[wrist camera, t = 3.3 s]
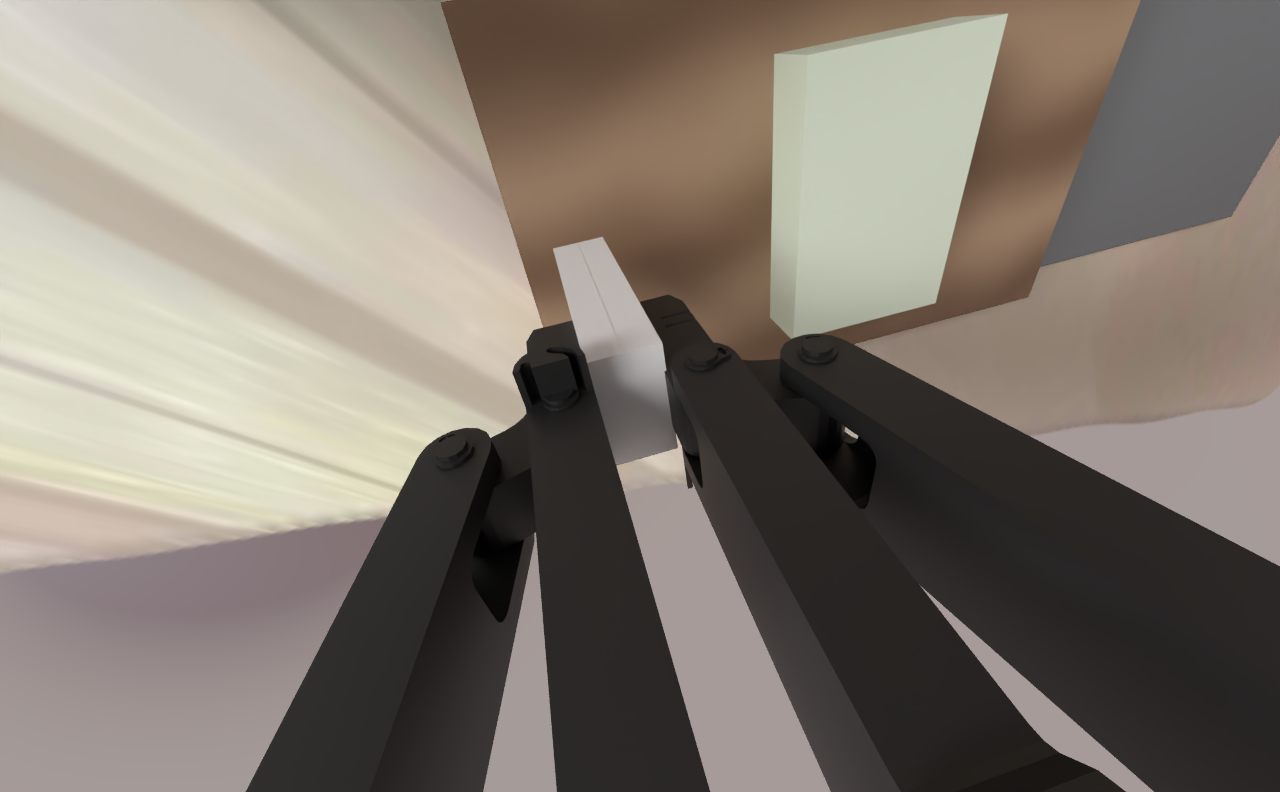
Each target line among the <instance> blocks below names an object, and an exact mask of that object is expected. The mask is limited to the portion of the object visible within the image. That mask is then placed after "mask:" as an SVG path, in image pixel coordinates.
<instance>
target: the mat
mask: <svg viewBox="0 0 1280 792" xmlns="http://www.w3.org/2000/svg"><path fill="white" fill-rule="evenodd" d="M1279 135H1280V0H1141V1H1140V4H1139V6H1138V9H1137V11H1136V14H1135V17H1134V19H1133V22H1132V25H1131V27H1130V30H1129V33H1128V35H1127V38H1126V40H1125V43H1124V46H1123V48H1122V51H1121V54H1120V56H1119V59H1118V62H1117V64H1116V67H1115V69H1114V72H1113V75H1112V77H1111V80H1110V83H1109V85H1108V88H1107V91H1106V93H1105V96H1104V98H1103V101H1102V104H1101V106H1100V109H1099V112H1098V114H1097V117H1096V120H1095V122H1094V125H1093V127H1092V130H1091V133H1090V135H1089V138H1088V141H1087V143H1086V146H1085V149H1084V151H1083V154H1082V156H1081V159H1080V162H1079V164H1078V167H1077V170H1076V172H1075V175H1074V178H1073V180H1072V183H1071V186H1070V188H1069V191H1068V193H1067V196H1066V199H1065V201H1064V204H1063V207H1062V209H1061V212H1060V215H1059V217H1058V220H1057V222H1056V225H1055V228H1054V230H1053V233H1052V236H1051V238H1050V241H1049V244H1048V246H1047V249H1046V251H1045V254H1044V257H1043V259H1042V262H1041V265H1040V266H1044V265H1048V264H1052V263H1056V262H1059V261H1063V260H1067V259H1071V258H1075V257H1078V256H1082V255H1086V254H1090V253H1094V252H1097V251H1101V250H1105V249H1109V248H1113V247H1116V246H1120V245H1124V244H1128V243H1132V242H1135V241H1139V240H1143V239H1147V238H1151V237H1155V236H1158V235H1162V234H1166V233H1170V232H1174V231H1177V230H1181V229H1185V228H1189V227H1193V226H1196V225H1200V224H1204V223H1208V222H1212V221H1215V220H1219V219H1223V218H1227V217H1231V216H1232V214H1233V212H1234V211H1235V209H1236V207H1237V206H1238V204H1239V202H1240V201H1241V199H1242V197H1243V196H1244V194H1245V192H1246V191H1247V189H1248V187H1249V186H1250V184H1251V182H1252V181H1253V179H1254V177H1255V176H1256V174H1257V172H1258V171H1259V169H1260V167H1261V166H1262V164H1263V162H1264V161H1265V159H1266V157H1267V156H1268V154H1269V152H1270V150H1271V149H1272V147H1273V145H1274V144H1275V142H1276V140H1277V139H1278V137H1279Z"/></svg>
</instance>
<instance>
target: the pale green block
mask: <svg viewBox="0 0 1280 792" xmlns="http://www.w3.org/2000/svg"><path fill="white" fill-rule="evenodd" d="M1007 17H1008V14H992V15H977V16H961V17H952V18H947V19H942V20H937V21H933V22H928V23H923V24H918V25H913V26H908V27H903V28H899V29H894V30H889V31H884V32H879V33H874V34H869V35H865V36H860V37H855V38H850V39H845V40H840V41H835V42H831V43H826V44H821V45H816V46H811V47H806V48H801V49H797V50H792V51H787V52H782V53H777V54H774V102H773V163H772V223H771V284H770V318H771V319H772V320H773V321H774V322H775V323H776V324H777V325H778V326H779V327H780V328H781V329H782V330H783V331H784V332H785V333H786V334H787V335H788V336H789V337H790V338H791V339H792V338H795V337H798V336H802V335H806V334H820V333H824V332H828V331H832V330H836V329H839V328H843V327H847V326H851V325H854V324H858V323H862V322H866V321H870V320H873V319H877V318H881V317H885V316H889V315H892V314H896V313H900V312H904V311H907V310H911V309H915V308H919V307H923V306H926V305H930V304H934V303H936V299H937V295H938V291H939V287H940V283H941V279H942V275H943V272H944V268H945V264H946V260H947V256H948V252H949V248H950V244H951V240H952V236H953V232H954V228H955V224H956V220H957V216H958V212H959V208H960V204H961V200H962V196H963V192H964V188H965V184H966V180H967V176H968V172H969V168H970V164H971V160H972V156H973V152H974V148H975V144H976V140H977V136H978V132H979V128H980V124H981V120H982V116H983V112H984V108H985V104H986V100H987V96H988V92H989V88H990V84H991V80H992V76H993V72H994V68H995V64H996V60H997V56H998V52H999V48H1000V44H1001V40H1002V36H1003V32H1004V28H1005V24H1006V21H1007Z"/></svg>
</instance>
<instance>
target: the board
mask: <svg viewBox="0 0 1280 792" xmlns="http://www.w3.org/2000/svg"><path fill="white" fill-rule="evenodd" d="M1140 1H1141V0H452V1H447V2H441V5H442V8H443V12H444V15H445V18H446V21H447V24H448V27H449V31H450V34H451V37H452V40H453V43H454V46H455V50H456V53H457V56H458V59H459V62H460V65H461V69H462V72H463V75H464V78H465V81H466V84H467V88H468V91H469V94H470V97H471V100H472V103H473V107H474V110H475V113H476V116H477V119H478V122H479V125H480V129H481V132H482V135H483V138H484V141H485V144H486V148H487V151H488V154H489V157H490V160H491V163H492V167H493V170H494V173H495V176H496V179H497V182H498V186H499V189H500V192H501V195H502V198H503V201H504V205H505V208H506V211H507V214H508V217H509V220H510V224H511V227H512V230H513V233H514V236H515V239H516V243H517V246H518V249H519V252H520V255H521V258H522V261H523V265H524V268H525V271H526V274H527V277H528V280H529V284H530V287H531V290H532V293H533V296H534V299H535V303H536V306H537V309H538V312H539V315H540V318H541V322H542V325H543V328H544V327H548V326H552V325H556V324H560V323H564V322H568V321H572V317H571V314H570V310H569V306H568V302H567V299H566V295H565V291H564V288H563V284H562V280H561V277H560V273H559V269H558V266H557V262H556V258H555V254H554V251H553V248H557V247H562V246H566V245H570V244H574V243H579V242H583V241H587V240H591V239H595V238H600V237H603V239H604V240H605V242H606V244H607V246H608V247H609V249H610V251H611V253H612V254H613V256H614V258H615V260H616V262H617V263H618V265H619V267H620V269H621V270H622V272H623V274H624V276H625V278H626V279H627V281H628V283H629V285H630V286H631V288H632V290H633V292H634V294H635V295H636V297H637V299H638V301H639V302H641V301H645V300H649V299H653V298H657V297H661V296H665V295H668V294H669V295H671V296H673V297H675V298H677V299H680V300H682V301H683V302H684V303H685V305H686V306H687V308H688V309H689V310H690V312H691V313H692V314H693V316H694V317H695V319H696V320H697V321H698V322H699V324H700V325H701V326H702V328H703V329H704V330H705V332H706V333H707V335H708V336H709V337H710V339H711V340H712V341H713V343H720V344H723V345H726V346H729V347H730V348H732V349H733V350H734V351H735V352H736V353H737V354H738V355H739V356H740V358H741V359H742V360H772V359H780V350H781V349H782V347H783V345H784V344H785V343H786V342H788V341H789V340H791V338H790V337H789V336H788V335H787V334H786V333H785V332H784V331H783V330H782V329H781V328H780V327H779V326H778V325H777V324H776V323H775V322H774V321H773V320H772V319H771V318H770V284H771V223H772V163H773V102H774V54H777V53H782V52H787V51H792V50H797V49H801V48H806V47H811V46H816V45H821V44H826V43H831V42H835V41H840V40H845V39H850V38H855V37H860V36H865V35H869V34H874V33H879V32H884V31H889V30H894V29H899V28H903V27H908V26H913V25H918V24H923V23H928V22H933V21H937V20H942V19H947V18H952V17H961V16H977V15H992V14H1008V17H1007V21H1006V24H1005V28H1004V32H1003V36H1002V40H1001V44H1000V48H999V52H998V56H997V60H996V64H995V68H994V72H993V76H992V80H991V84H990V88H989V92H988V96H987V100H986V104H985V108H984V112H983V116H982V120H981V124H980V128H979V132H978V136H977V140H976V144H975V148H974V152H973V156H972V160H971V164H970V168H969V172H968V176H967V180H966V184H965V188H964V192H963V196H962V200H961V204H960V208H959V212H958V216H957V220H956V224H955V228H954V232H953V236H952V240H951V244H950V248H949V252H948V256H947V260H946V264H945V268H944V272H943V275H942V279H941V283H940V287H939V291H938V295H937V299H936V303H934V304H930V305H926V306H923V307H919V308H915V309H911V310H907V311H904V312H900V313H896V314H892V315H889V316H885V317H881V318H877V319H873V320H870V321H866V322H862V323H858V324H854V325H851V326H847V327H843V328H839V329H836V330H832V331H828V332H824V333H820V334H825V335H832V336H835V337H838V338H841V339H843V340H845V341H847V342H849V343H851V344H855V343H859V342H863V341H866V340H870V339H874V338H878V337H881V336H885V335H889V334H893V333H896V332H900V331H904V330H907V329H911V328H915V327H919V326H922V325H926V324H930V323H934V322H937V321H941V320H945V319H948V318H952V317H956V316H960V315H963V314H967V313H971V312H974V311H978V310H982V309H986V308H989V307H993V306H997V305H1001V304H1004V303H1008V302H1012V301H1015V300H1019V299H1023V298H1027V297H1028V296H1029V294H1030V291H1031V288H1032V286H1033V283H1034V280H1035V278H1036V275H1037V273H1038V270H1039V267H1040V265H1041V262H1042V259H1043V257H1044V254H1045V251H1046V249H1047V246H1048V244H1049V241H1050V238H1051V236H1052V233H1053V230H1054V228H1055V225H1056V222H1057V220H1058V217H1059V215H1060V212H1061V209H1062V207H1063V204H1064V201H1065V199H1066V196H1067V193H1068V191H1069V188H1070V186H1071V183H1072V180H1073V178H1074V175H1075V172H1076V170H1077V167H1078V164H1079V162H1080V159H1081V156H1082V154H1083V151H1084V149H1085V146H1086V143H1087V141H1088V138H1089V135H1090V133H1091V130H1092V127H1093V125H1094V122H1095V120H1096V117H1097V114H1098V112H1099V109H1100V106H1101V104H1102V101H1103V98H1104V96H1105V93H1106V91H1107V88H1108V85H1109V83H1110V80H1111V77H1112V75H1113V72H1114V69H1115V67H1116V64H1117V62H1118V59H1119V56H1120V54H1121V51H1122V48H1123V46H1124V43H1125V40H1126V38H1127V35H1128V33H1129V30H1130V27H1131V25H1132V22H1133V19H1134V17H1135V14H1136V11H1137V9H1138V6H1139V4H1140Z"/></svg>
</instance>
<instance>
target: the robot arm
mask: <svg viewBox="0 0 1280 792" xmlns="http://www.w3.org/2000/svg"><path fill="white" fill-rule="evenodd" d="M553 251H554V254H555V258H556V262H557V266H558V269H559V273H560V277H561V280H562V284H563V288H564V291H565V295H566V299H567V302H568V306H569V310H570V314H571V317H572V321H568V322H564V323H560V324H556V325H552V326H548V327H544V328H540V329H536V330H533V332H532V334H531V335H530V337H529V339H528V340H527V342H526V343H527V354H526V355H524V356H523V357H521V359H520V360H519V361H518V362H517V363H516V364H515V366H514V369H513V372H512V373H513V376H514V378H515V381H516V383H517V386H518V389H519V391H520V394H521V396H522V399H523V402H524V404H525V407H526V413H527V414H526V415H525V416H524V417H523V419H521V420H520V421H519V422H518V423H517V424H515V425H514V426H512V427H511V428H509V429H507V430H506V431H504V432H502V433H500V434H498V435H496V436H494V437H492V438H490V437H489V435H488V434H487V432H485V431H483V430H480V429H478V428H463V429H459V430H455V431H451V432H449V433H447V434H445V435H442V436H441V437H439V438H437V439H436V440H434V441H433V442H432V443H430V444H429V445H428V446H427V447H425V449H424V450H423V451H422V453H421V454H420V455H419V457H418V458H417V460H416V462H415V464H414V466H413V468H412V470H411V472H410V474H409V476H408V478H407V480H406V482H405V484H404V486H403V487H402V489H401V491H400V493H399V495H398V497H397V499H396V501H395V503H394V505H393V507H392V509H391V511H390V513H389V515H388V517H387V519H386V521H385V522H384V524H383V526H382V528H381V530H380V532H379V534H378V536H377V538H376V540H375V542H374V544H373V546H372V548H371V550H370V552H369V554H368V555H367V558H366V559H365V561H364V563H363V565H362V567H361V569H360V571H359V573H358V575H357V577H356V579H355V581H354V583H353V585H352V587H351V588H350V591H349V592H348V595H347V596H346V598H345V600H344V602H343V604H342V606H341V608H340V610H339V612H338V614H337V616H336V618H335V620H334V622H333V624H332V625H331V627H330V629H329V631H328V633H327V635H326V637H325V639H324V641H323V643H322V645H321V647H320V649H319V651H318V653H317V655H316V656H315V658H314V660H313V662H312V664H311V666H310V668H309V670H308V672H307V674H306V676H305V678H304V680H303V682H302V684H301V686H300V688H299V689H298V691H297V693H296V695H295V698H294V699H293V701H292V703H291V705H290V707H289V709H288V711H287V713H286V715H285V717H284V719H283V721H282V723H281V724H280V727H279V728H278V730H277V732H276V734H275V736H274V738H273V740H272V742H271V744H270V746H269V748H268V750H267V752H266V754H265V756H264V757H263V759H262V761H261V763H260V765H259V767H258V769H257V771H256V773H255V775H254V777H253V779H252V781H251V783H250V785H249V787H248V789H247V790H246V792H483V789H484V784H485V779H486V774H487V769H488V765H489V759H490V755H491V750H492V745H493V740H494V735H495V730H496V726H497V721H498V716H499V711H500V706H501V701H502V696H503V691H504V687H505V681H506V677H507V672H508V667H509V662H510V657H511V652H512V647H513V643H514V638H515V633H516V628H517V623H518V618H519V613H520V609H521V604H522V599H523V593H524V589H525V584H526V579H527V574H528V570H529V565H530V560H531V555H532V550H533V545H534V533H535V532H536V537H537V548H538V562H539V574H540V587H541V599H542V611H543V624H544V636H545V649H546V660H547V674H548V685H549V698H550V710H551V723H552V735H553V748H554V760H555V773H556V785H557V792H710V790H709V786H708V783H707V779H706V776H705V773H704V769H703V766H702V762H701V758H700V755H699V752H698V748H697V745H696V741H695V738H694V734H693V731H692V728H691V724H690V720H689V717H688V713H687V710H686V706H685V703H684V699H683V696H682V693H681V689H680V686H679V682H678V679H677V675H676V672H675V668H674V665H673V662H672V658H671V655H670V651H669V648H668V644H667V641H666V637H665V633H664V630H663V627H662V623H661V620H660V617H659V613H658V609H657V606H656V603H655V599H654V595H653V592H652V588H651V585H650V582H649V578H648V574H647V571H646V568H645V564H644V561H643V557H642V554H641V550H640V547H639V543H638V540H637V536H636V533H635V529H634V526H633V522H632V519H631V516H630V512H629V509H628V505H627V502H626V498H625V495H624V491H623V488H622V484H621V481H620V477H619V474H618V470H617V467H616V465H620V464H623V463H627V462H630V461H634V460H637V459H641V458H644V457H648V456H651V455H655V454H658V453H662V452H665V451H669V450H672V449H676V448H678V446H677V439H676V434H677V436H678V438H679V441H680V443H681V445H682V450H683V457H684V464H685V471H686V479H687V485H688V488H692V487H693V484H694V486H695V489H696V491H697V493H698V495H699V497H700V500H701V502H702V504H703V507H704V509H705V511H706V513H707V515H708V518H709V520H710V522H711V524H712V527H713V529H714V531H715V533H716V536H717V538H718V540H719V542H720V544H721V547H722V549H723V551H724V553H725V556H726V558H727V560H728V562H729V565H730V567H731V569H732V571H733V574H734V576H735V578H736V580H737V582H738V585H739V587H740V589H741V591H742V594H743V596H744V598H745V600H746V603H747V605H748V607H749V609H750V612H751V614H752V616H753V618H754V621H755V623H756V625H757V627H758V629H759V632H760V634H761V636H762V638H763V641H764V643H765V645H766V647H767V650H768V652H769V654H770V656H771V659H772V661H773V663H774V665H775V668H776V670H777V672H778V674H779V677H780V679H781V681H782V683H783V685H784V688H785V690H786V692H787V694H788V697H789V699H790V701H791V703H792V706H793V708H794V710H795V712H796V715H797V717H798V719H799V721H800V723H801V726H802V728H803V730H804V733H805V734H806V737H807V739H808V741H809V743H810V746H811V748H812V750H813V752H814V755H815V757H816V759H817V762H818V764H819V766H820V768H821V771H822V773H823V775H824V777H825V779H826V782H827V784H828V786H829V788H830V791H831V792H1126V791H1124V790H1123V789H1122V788H1120V787H1119V786H1118V785H1116V784H1115V783H1114V782H1113V781H1111V780H1110V779H1109V778H1107V777H1106V776H1105V775H1103V774H1102V773H1101V772H1099V771H1098V770H1096V769H1094V768H1092V767H1090V766H1087V765H1085V764H1083V763H1081V762H1079V761H1076V760H1074V759H1072V758H1070V757H1067V756H1065V755H1063V754H1061V753H1059V752H1058V751H1056V750H1055V749H1054V748H1053V747H1051V746H1050V745H1049V744H1047V743H1046V742H1045V741H1044V740H1043V739H1042V738H1041V737H1040V736H1039V735H1038V734H1037V733H1036V731H1034V730H1033V728H1032V727H1031V726H1030V725H1029V724H1028V722H1027V721H1026V720H1025V719H1024V717H1023V716H1022V715H1021V714H1020V713H1019V711H1018V710H1017V709H1016V707H1015V706H1014V705H1013V704H1012V702H1011V701H1010V700H1009V698H1008V697H1007V696H1006V694H1005V693H1004V692H1003V691H1002V689H1001V688H1000V687H999V686H998V685H997V683H996V682H995V681H994V679H993V678H992V677H991V675H990V674H989V673H988V672H987V670H986V669H985V668H984V667H983V666H982V664H981V663H980V661H979V660H978V659H977V658H976V657H975V655H974V654H973V653H972V651H971V650H970V649H969V647H968V646H967V645H966V644H965V642H964V641H963V640H962V639H961V637H960V636H959V635H958V633H957V632H956V631H955V630H954V628H953V627H952V626H951V625H950V623H949V622H948V621H947V620H946V618H945V617H944V616H943V615H942V613H941V612H940V611H939V610H938V608H937V607H936V606H935V604H934V603H933V602H932V601H931V599H930V598H929V597H928V595H927V594H926V593H925V592H924V590H923V589H922V588H921V587H923V588H924V589H925V590H926V591H927V592H929V594H931V595H932V596H933V597H934V598H935V599H936V600H937V601H939V602H940V603H941V604H942V605H943V606H944V607H945V608H946V609H948V610H949V611H950V612H951V613H952V614H953V615H954V616H956V617H957V618H958V619H959V620H960V621H961V622H962V623H963V624H965V625H966V626H967V627H968V628H969V629H970V630H972V631H973V632H974V633H975V634H976V635H977V636H978V637H979V638H981V639H982V640H983V641H984V642H985V643H986V644H987V645H988V646H990V647H991V648H992V649H993V650H994V651H995V652H996V653H998V654H999V655H1000V656H1001V657H1002V658H1003V659H1004V660H1005V661H1007V662H1008V663H1009V664H1010V665H1011V666H1012V667H1013V668H1015V669H1016V670H1017V671H1018V672H1019V673H1020V674H1021V675H1022V676H1024V677H1025V678H1026V679H1027V680H1028V681H1029V682H1030V683H1032V684H1033V685H1034V686H1035V687H1036V688H1037V689H1038V690H1040V691H1041V692H1042V693H1043V694H1044V695H1045V696H1046V697H1047V698H1049V699H1050V700H1051V701H1052V702H1053V703H1054V704H1055V705H1056V706H1058V707H1059V708H1060V709H1061V710H1062V711H1063V712H1065V713H1066V714H1067V715H1068V716H1069V717H1070V718H1071V719H1073V721H1075V722H1076V723H1077V724H1078V725H1079V726H1080V727H1082V728H1083V729H1084V730H1085V731H1086V732H1087V733H1088V734H1089V735H1091V736H1092V737H1093V738H1094V739H1095V740H1096V741H1097V742H1099V743H1100V744H1101V745H1102V746H1103V747H1104V748H1105V749H1106V750H1108V751H1109V752H1110V753H1111V754H1112V755H1113V756H1114V757H1116V758H1117V759H1118V760H1119V761H1120V762H1121V763H1122V764H1123V765H1125V766H1126V767H1127V768H1128V769H1129V770H1130V771H1131V772H1133V773H1134V774H1135V775H1136V776H1137V777H1138V778H1139V779H1141V780H1142V781H1143V782H1144V783H1145V784H1146V785H1147V786H1148V787H1149V788H1151V789H1152V790H1153V791H1154V792H1280V566H1278V565H1276V564H1274V563H1272V562H1270V561H1268V560H1266V559H1264V558H1263V557H1260V556H1259V555H1257V554H1255V553H1253V552H1251V551H1249V550H1247V549H1245V548H1243V547H1241V546H1239V545H1238V544H1236V543H1234V542H1232V541H1230V540H1228V539H1226V538H1224V537H1222V536H1220V535H1218V534H1216V533H1214V532H1212V531H1211V530H1208V529H1207V528H1205V527H1203V526H1201V525H1199V524H1197V523H1195V522H1193V521H1191V520H1190V519H1188V518H1186V517H1184V516H1182V515H1180V514H1178V513H1176V512H1174V511H1172V510H1170V509H1168V508H1166V507H1164V506H1163V505H1161V504H1159V503H1157V502H1155V501H1153V500H1151V499H1149V498H1147V497H1145V496H1143V495H1141V494H1140V493H1138V492H1136V491H1134V490H1132V489H1130V488H1128V487H1126V486H1124V485H1122V484H1120V483H1118V482H1116V481H1115V480H1112V479H1111V478H1109V477H1107V476H1105V475H1103V474H1101V473H1099V472H1097V471H1095V470H1093V469H1091V468H1090V467H1088V466H1086V465H1084V464H1082V463H1080V462H1078V461H1076V460H1074V459H1072V458H1070V457H1068V456H1066V455H1065V454H1063V453H1061V452H1059V451H1057V450H1055V449H1053V448H1051V447H1049V446H1047V445H1045V444H1043V443H1042V442H1039V441H1038V440H1036V439H1034V438H1032V437H1030V436H1028V435H1026V434H1024V433H1022V432H1020V431H1018V430H1017V429H1015V428H1013V427H1011V426H1009V425H1007V424H1005V423H1003V422H1001V421H999V420H997V419H995V418H993V417H992V416H990V415H988V414H986V413H984V412H982V411H980V410H978V409H976V408H974V407H972V406H970V405H968V404H967V403H965V402H963V401H961V400H959V399H957V398H955V397H953V396H951V395H949V394H947V393H945V392H943V391H942V390H940V389H938V388H936V387H934V386H932V385H930V384H928V383H926V382H924V381H922V380H920V379H919V378H917V377H915V376H913V375H911V374H909V373H907V372H905V371H903V370H901V369H899V368H897V367H895V366H894V365H892V364H890V363H888V362H886V361H884V360H882V359H880V358H878V357H876V356H874V355H872V354H870V353H869V352H867V351H865V350H863V349H861V348H859V347H857V346H855V345H853V344H851V343H849V342H847V341H845V340H843V339H841V338H838V337H835V336H832V335H825V334H806V335H802V336H798V337H795V338H792V339H791V340H789V341H788V342H786V343H785V344H784V345H783V347H782V349H781V350H780V359H772V360H742V359H741V358H740V356H739V355H738V354H737V353H736V352H735V351H734V350H733V349H732V348H730V347H729V346H726V345H723V344H720V343H713V341H712V340H711V339H710V337H709V336H708V335H707V333H706V332H705V330H704V329H703V328H702V326H701V325H700V324H699V322H698V321H697V320H696V319H695V317H694V316H693V314H692V313H691V312H690V310H689V309H688V308H687V306H686V305H685V303H684V302H683V301H682V300H680V299H677V298H675V297H673V296H671V295H669V294H668V295H665V296H661V297H657V298H653V299H649V300H645V301H641V302H639V301H638V299H637V297H636V295H635V294H634V292H633V290H632V288H631V286H630V285H629V283H628V281H627V279H626V278H625V276H624V274H623V272H622V270H621V269H620V267H619V265H618V263H617V262H616V260H615V258H614V256H613V254H612V253H611V251H610V249H609V247H608V246H607V244H606V242H605V240H604V239H603V237H600V238H595V239H591V240H587V241H583V242H579V243H574V244H570V245H566V246H562V247H557V248H553ZM845 427H847V428H848V429H849V430H851V431H852V432H854V433H855V434H857V435H858V439H856V438H854V437H852V436H850V435H848V434H847V433H846V432H844V431H845ZM692 482H693V484H692Z"/></svg>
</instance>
